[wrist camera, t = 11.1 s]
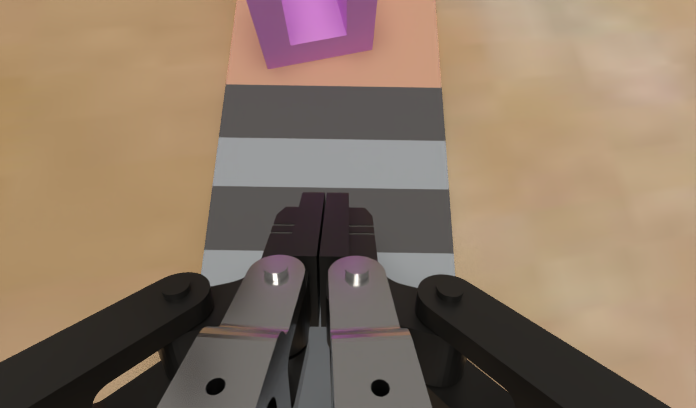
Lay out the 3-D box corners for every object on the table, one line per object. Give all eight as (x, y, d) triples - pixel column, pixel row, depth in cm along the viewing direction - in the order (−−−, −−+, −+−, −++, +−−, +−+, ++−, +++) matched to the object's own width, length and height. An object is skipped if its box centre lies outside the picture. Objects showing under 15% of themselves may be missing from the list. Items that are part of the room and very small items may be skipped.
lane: (163, 589, 13) (131, 637, 11) (254, -123, 23) (246, -162, 22) (475, 593, 13) (498, 641, 11) (425, -119, 24) (432, -158, 22)
